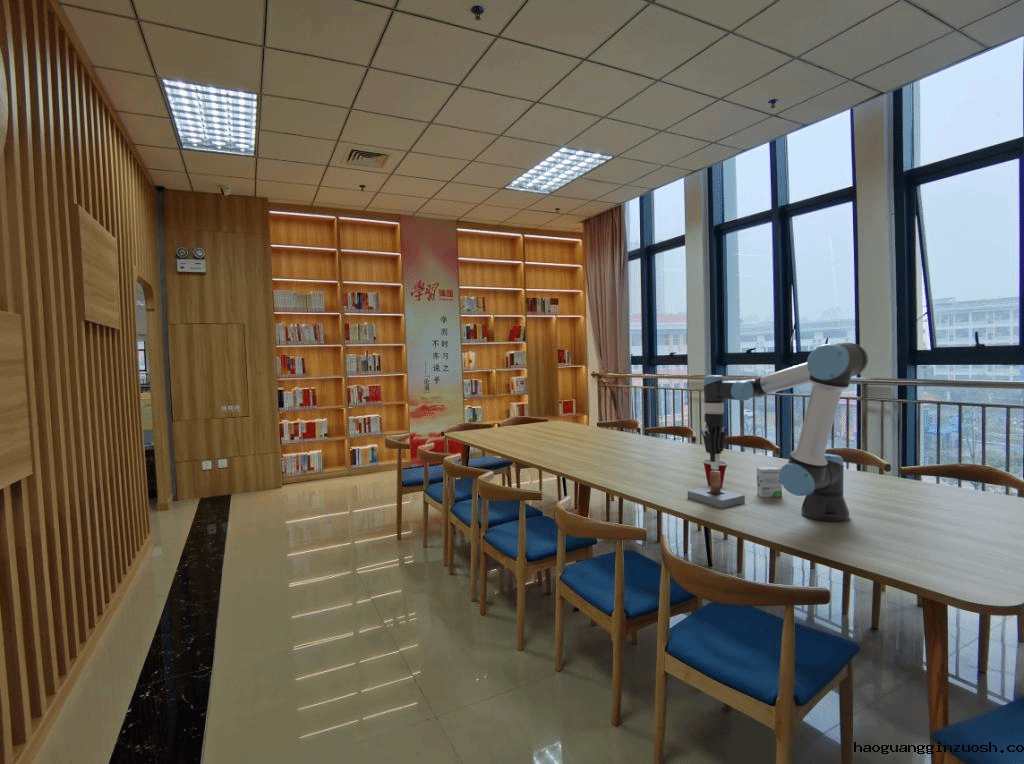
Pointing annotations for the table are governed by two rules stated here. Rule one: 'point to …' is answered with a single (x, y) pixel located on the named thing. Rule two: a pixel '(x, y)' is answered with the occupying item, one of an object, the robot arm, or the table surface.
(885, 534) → the table surface
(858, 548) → the table surface
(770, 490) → the ink box
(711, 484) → the peg
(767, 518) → the table surface
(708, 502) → the board
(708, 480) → the plastic cup
